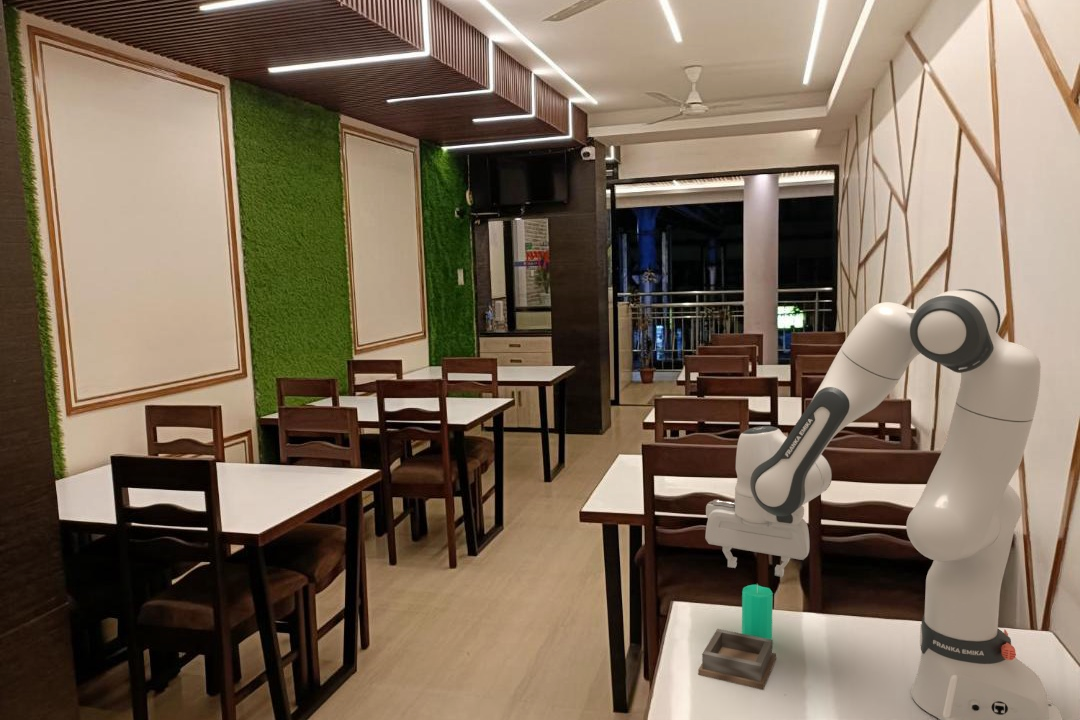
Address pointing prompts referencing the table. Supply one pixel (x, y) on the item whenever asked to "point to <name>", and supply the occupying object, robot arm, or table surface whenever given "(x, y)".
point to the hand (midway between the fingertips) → (755, 570)
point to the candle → (757, 611)
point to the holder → (738, 658)
